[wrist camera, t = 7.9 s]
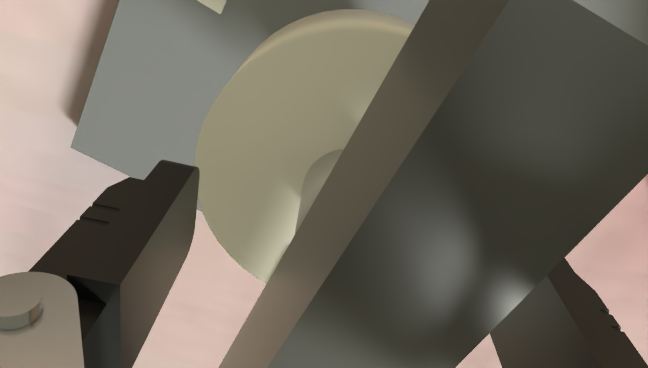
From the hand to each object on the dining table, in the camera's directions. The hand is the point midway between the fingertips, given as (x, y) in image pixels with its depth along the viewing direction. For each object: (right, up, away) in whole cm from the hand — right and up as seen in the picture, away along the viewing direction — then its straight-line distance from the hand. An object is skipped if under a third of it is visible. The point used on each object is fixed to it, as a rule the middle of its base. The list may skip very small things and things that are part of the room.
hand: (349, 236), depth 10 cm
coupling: (0, +2, +4) cm, 5 cm away
